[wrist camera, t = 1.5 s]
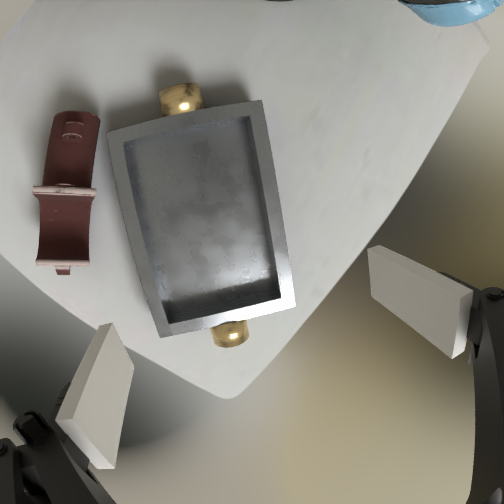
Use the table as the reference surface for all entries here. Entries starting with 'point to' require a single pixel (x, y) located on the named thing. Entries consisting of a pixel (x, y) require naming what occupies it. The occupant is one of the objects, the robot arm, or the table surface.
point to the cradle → (203, 215)
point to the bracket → (67, 191)
